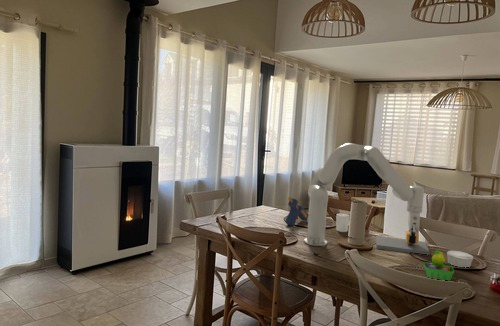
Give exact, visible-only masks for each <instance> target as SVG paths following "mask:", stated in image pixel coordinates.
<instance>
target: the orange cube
mask: <svg viewBox="0 0 500 326" xmlns="http://www.w3.org/2000/svg"><path fill="white" fill-rule="evenodd" d="M409 235H410V232H409V230H407V231H405V240H406V243H409ZM418 241H419V233H418V231H416V242H415V244H418ZM412 244H414V243H412Z"/></svg>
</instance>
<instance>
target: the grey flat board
mask: <svg viewBox="0 0 500 326" xmlns="http://www.w3.org/2000/svg"><path fill="white" fill-rule="evenodd" d="M405 239H406V238H405ZM405 239H404V238H396V237H388V236H380V235H376V236H375V246H376V249H379V250H386V251H394V252H400V253H407V254H411V253H410V252H416V253H421V254H427V255H426V256H428V255H429V256H430V254H431V253H430V250H429V248H428V245H427V244H426V241H420V240H418V244H413V245H409V243H406V240H405ZM421 254H420V255H421Z"/></svg>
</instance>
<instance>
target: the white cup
mask: <svg viewBox="0 0 500 326" xmlns="http://www.w3.org/2000/svg"><path fill="white" fill-rule="evenodd" d="M335 215H336V218H335V219H336V221H335V222H336V223H335V224H336V225H335V227H336V228H335V230H336V231H337V232H340V233H347V232H348V229H349V224H350V214H347V213H336V214H335Z"/></svg>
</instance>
